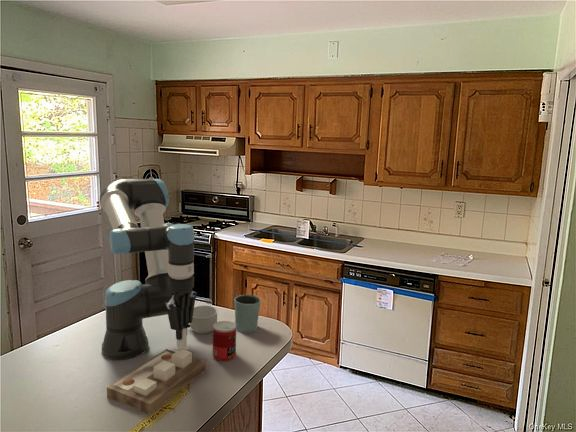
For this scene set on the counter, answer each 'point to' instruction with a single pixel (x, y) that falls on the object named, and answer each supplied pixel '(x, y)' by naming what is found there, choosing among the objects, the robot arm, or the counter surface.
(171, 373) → the button middle
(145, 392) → the button
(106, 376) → the counter surface
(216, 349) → the canned food
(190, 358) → the button
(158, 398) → the button board
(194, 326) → the teacup
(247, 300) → the blue-green cup
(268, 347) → the counter surface
